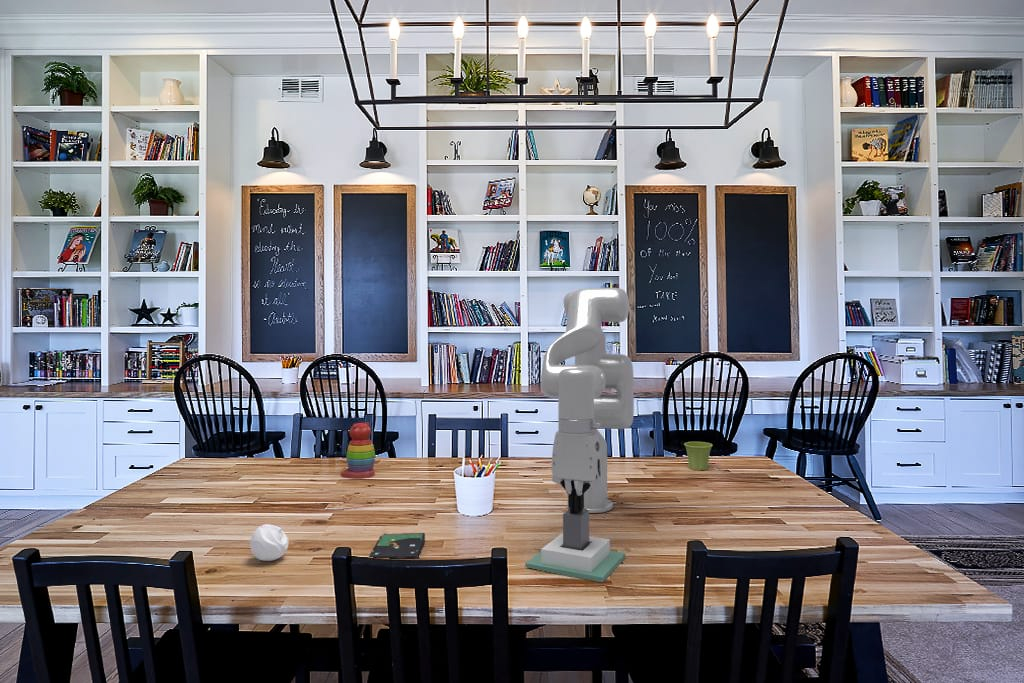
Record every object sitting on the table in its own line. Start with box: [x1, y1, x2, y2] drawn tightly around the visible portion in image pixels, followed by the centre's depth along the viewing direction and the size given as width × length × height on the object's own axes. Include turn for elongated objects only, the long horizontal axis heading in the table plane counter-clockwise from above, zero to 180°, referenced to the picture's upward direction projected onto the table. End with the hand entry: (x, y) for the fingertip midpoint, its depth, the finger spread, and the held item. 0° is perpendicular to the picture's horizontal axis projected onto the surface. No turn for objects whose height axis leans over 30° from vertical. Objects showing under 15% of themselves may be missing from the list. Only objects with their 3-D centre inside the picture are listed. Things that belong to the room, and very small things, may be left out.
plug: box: [562, 507, 590, 551], centre depth 138 cm, size 6×4×10 cm, turn 153°
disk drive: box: [368, 532, 426, 559], centre depth 144 cm, size 10×3×15 cm
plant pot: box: [683, 441, 713, 472], centre depth 224 cm, size 9×9×9 cm
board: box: [524, 532, 626, 584], centre depth 138 cm, size 15×17×4 cm
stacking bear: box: [340, 422, 376, 480], centre depth 216 cm, size 11×10×18 cm
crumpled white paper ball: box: [249, 523, 290, 562], centre depth 140 cm, size 8×8×8 cm
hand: (576, 511), depth 137 cm, fingers closed
